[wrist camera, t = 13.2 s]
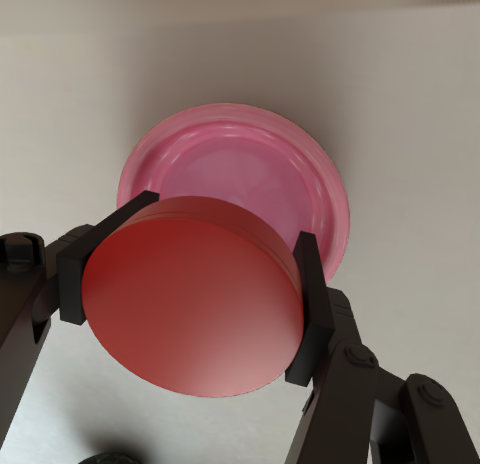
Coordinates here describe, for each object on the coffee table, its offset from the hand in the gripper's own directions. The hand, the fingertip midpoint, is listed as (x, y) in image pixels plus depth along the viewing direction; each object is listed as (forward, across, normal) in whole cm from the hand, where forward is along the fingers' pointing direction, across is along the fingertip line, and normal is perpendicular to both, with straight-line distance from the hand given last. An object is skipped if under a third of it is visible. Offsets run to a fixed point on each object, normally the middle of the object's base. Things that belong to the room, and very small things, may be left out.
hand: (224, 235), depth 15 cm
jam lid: (-6, 0, 0) cm, 6 cm away
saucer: (+4, 0, 0) cm, 4 cm away
